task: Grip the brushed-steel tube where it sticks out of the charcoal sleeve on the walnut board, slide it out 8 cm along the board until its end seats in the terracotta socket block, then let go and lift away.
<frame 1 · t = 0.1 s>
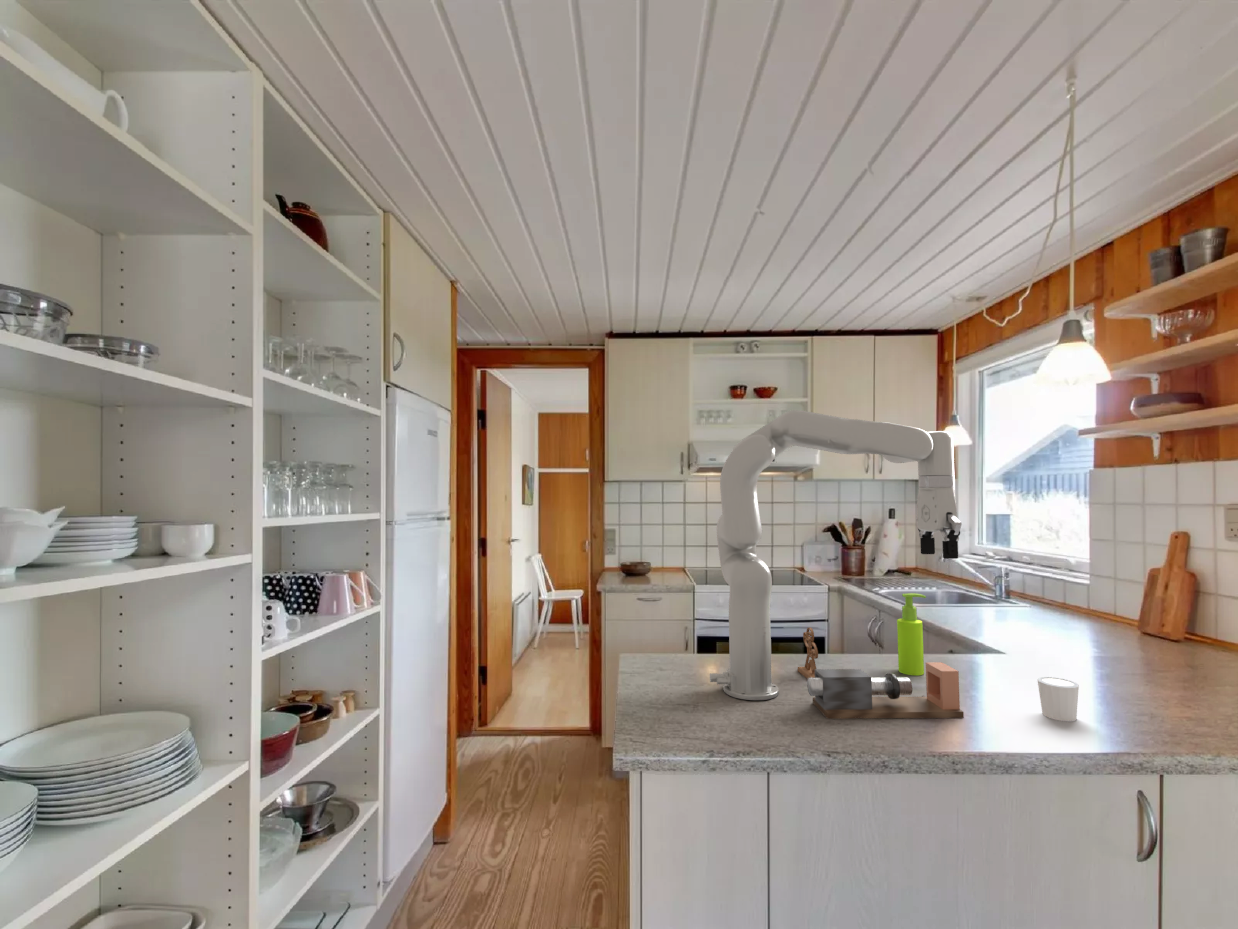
hand: (938, 556, 138), 31 cm above the countertop, fingers open, 9 cm apart
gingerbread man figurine: (811, 676, 149), on the countertop
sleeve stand: (885, 710, 125), on the countertop
socket block: (942, 685, 125), point 5 cm above the countertop
steel tube: (859, 686, 125), point 5 cm above the countertop, slide at 0.0 cm
white cup: (1059, 717, 121), on the countertop
soap dispenser: (913, 673, 151), on the countertop
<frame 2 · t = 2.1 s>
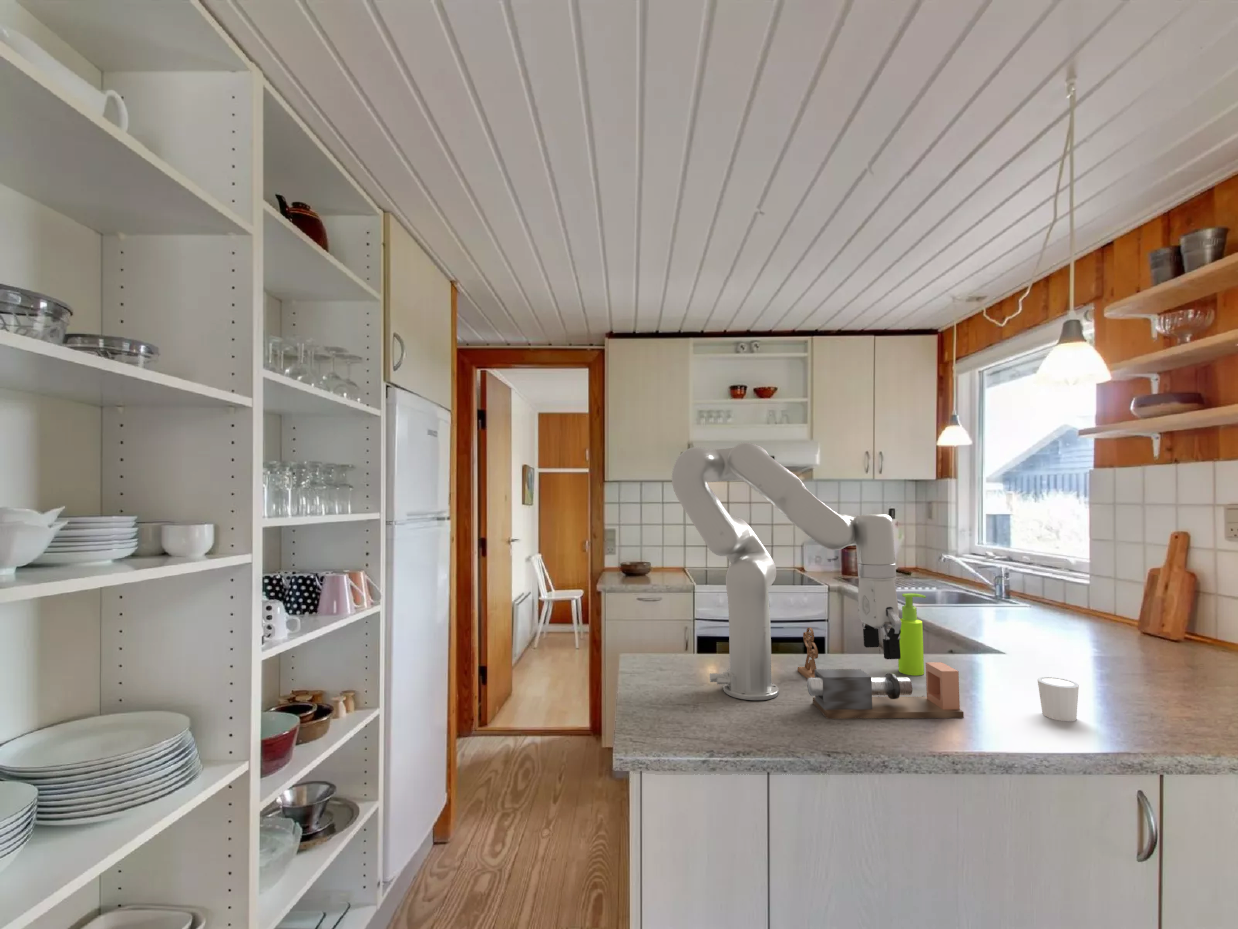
hand: (881, 652, 125), 12 cm above the countertop, fingers open, 9 cm apart
nothing on the countertop moved.
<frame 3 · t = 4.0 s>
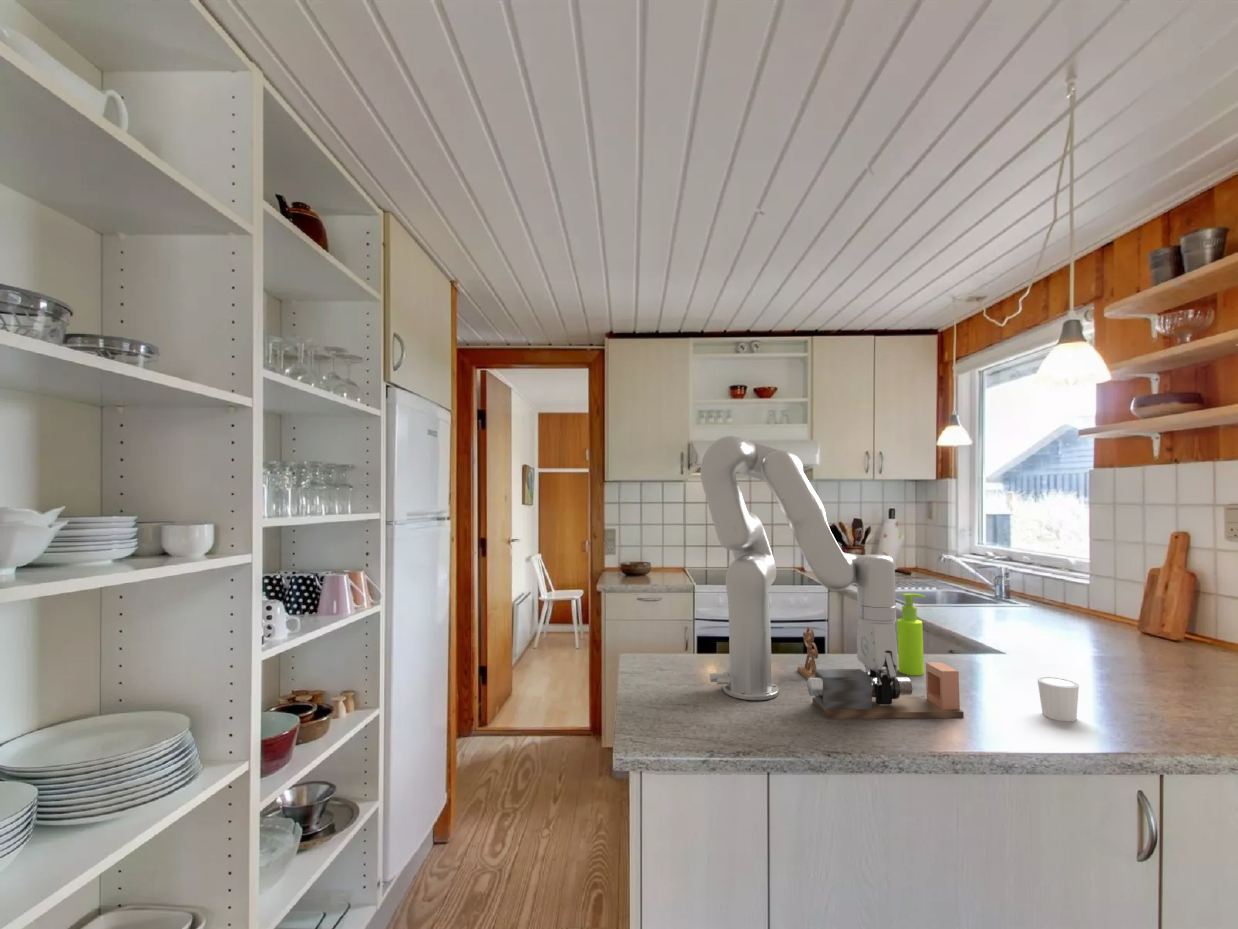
hand: (879, 699, 125), 2 cm above the countertop, fingers closed on steel tube, 3 cm apart
steel tube: (859, 686, 125), point 5 cm above the countertop, slide at 0.0 cm, touching gripper
everything else where it was.
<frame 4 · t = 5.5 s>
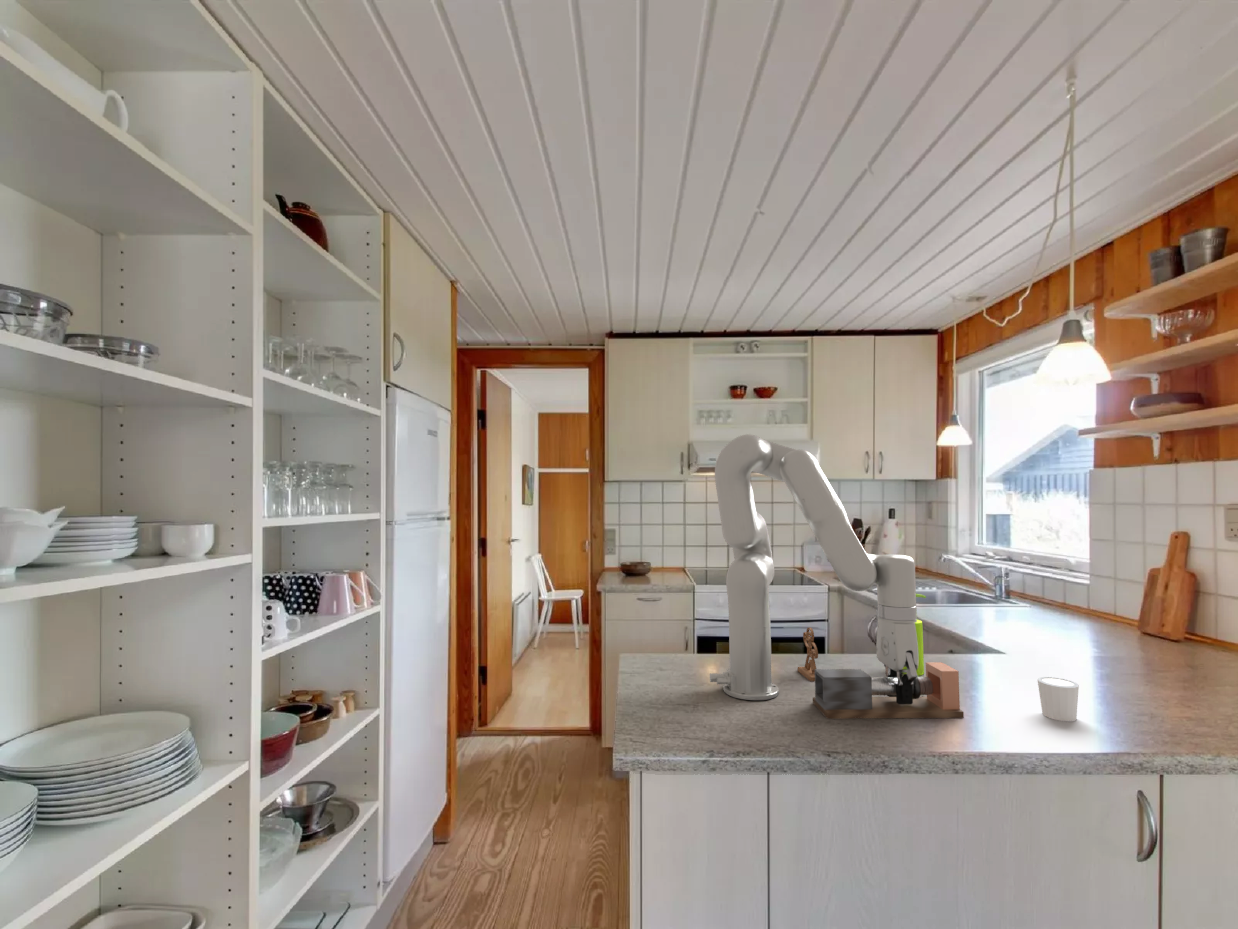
hand: (899, 699, 125), 2 cm above the countertop, fingers closed on steel tube, 3 cm apart
steel tube: (879, 686, 125), point 5 cm above the countertop, slide at 4.3 cm, touching gripper
everything else where it was.
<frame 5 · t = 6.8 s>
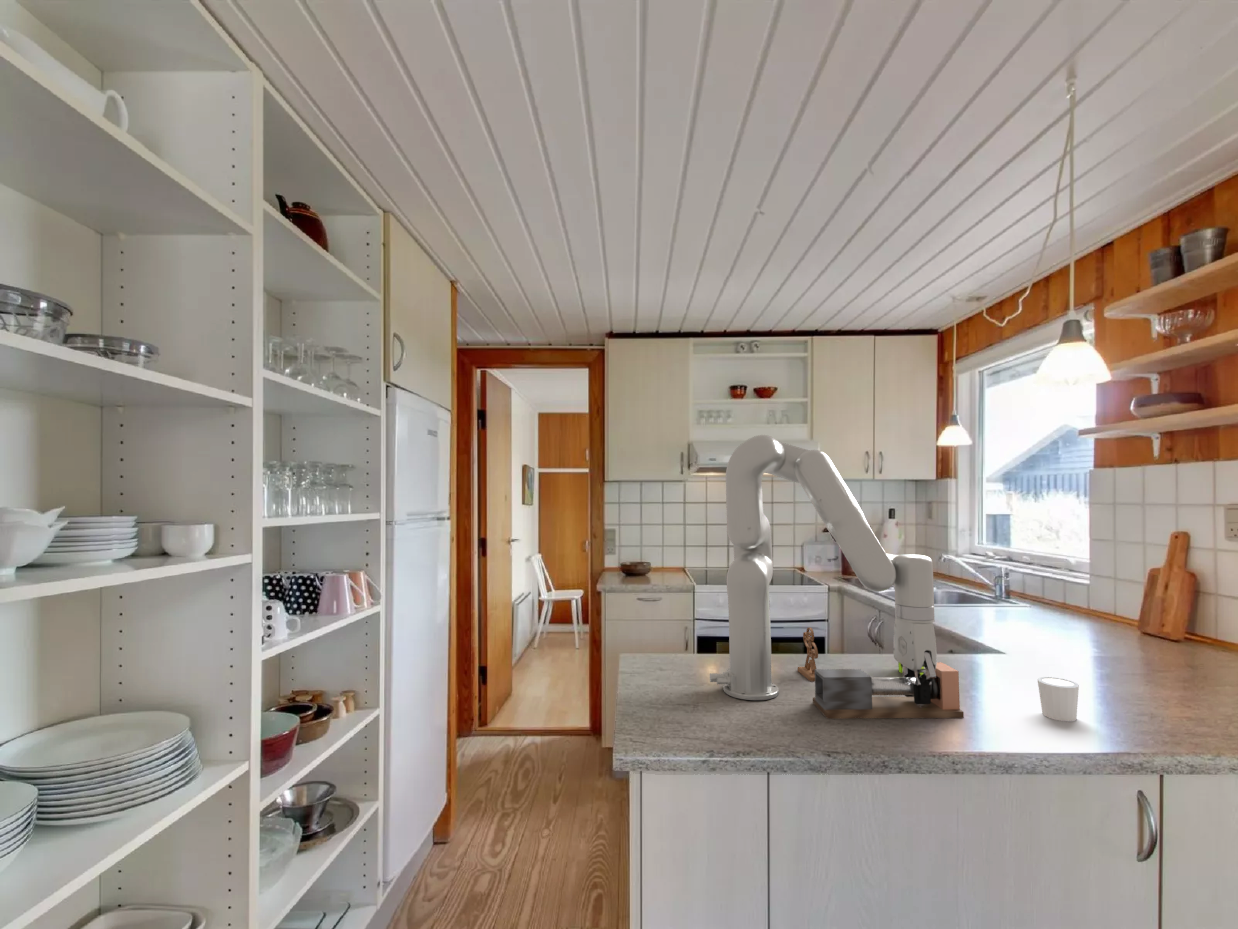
hand: (917, 699, 125), 2 cm above the countertop, fingers closed on steel tube, 3 cm apart
steel tube: (897, 686, 125), point 5 cm above the countertop, slide at 8.1 cm, touching gripper
everything else where it was.
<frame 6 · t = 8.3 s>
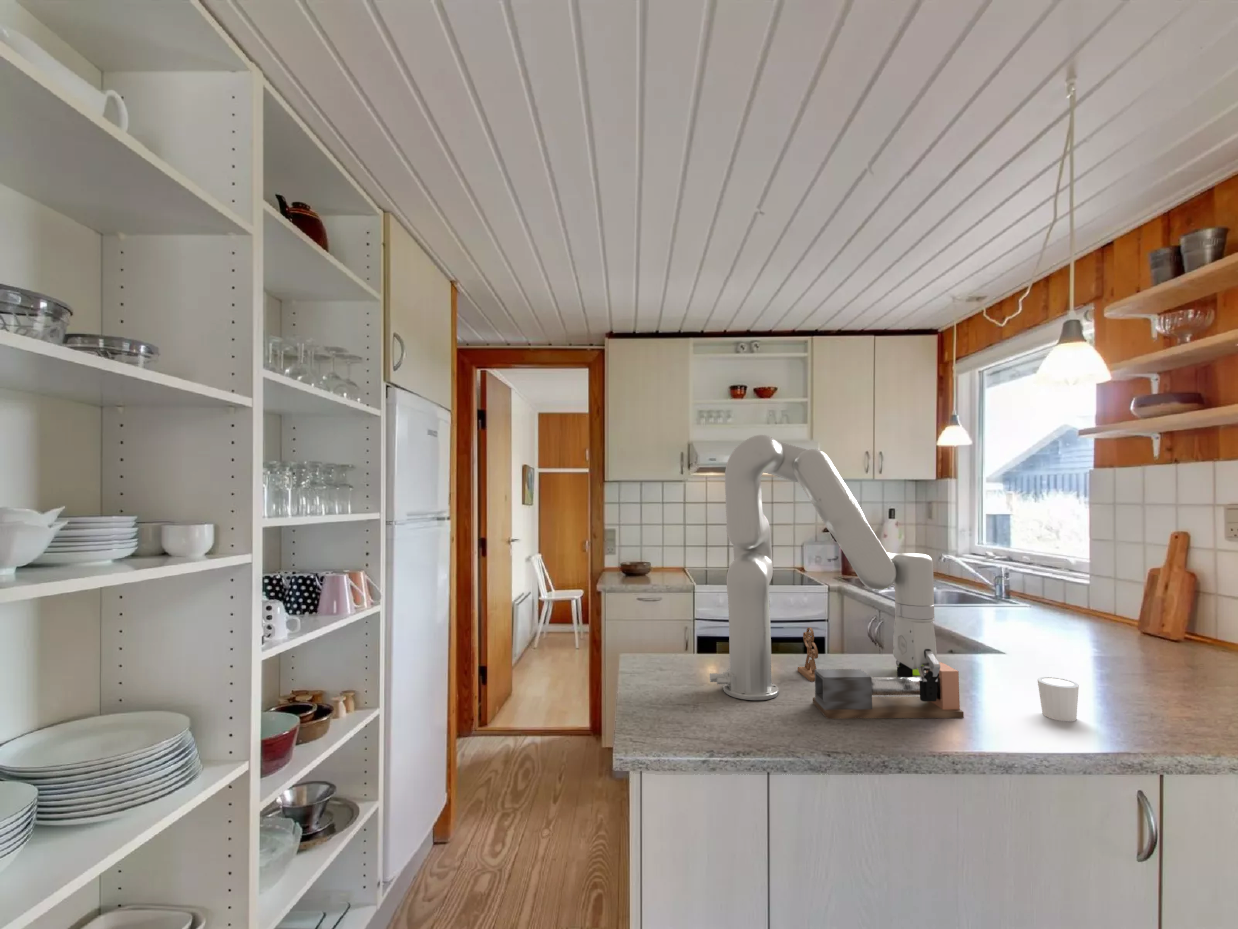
hand: (916, 692, 125), 4 cm above the countertop, fingers open, 9 cm apart
steel tube: (896, 686, 125), point 5 cm above the countertop, slide at 8.0 cm
everything else where it was.
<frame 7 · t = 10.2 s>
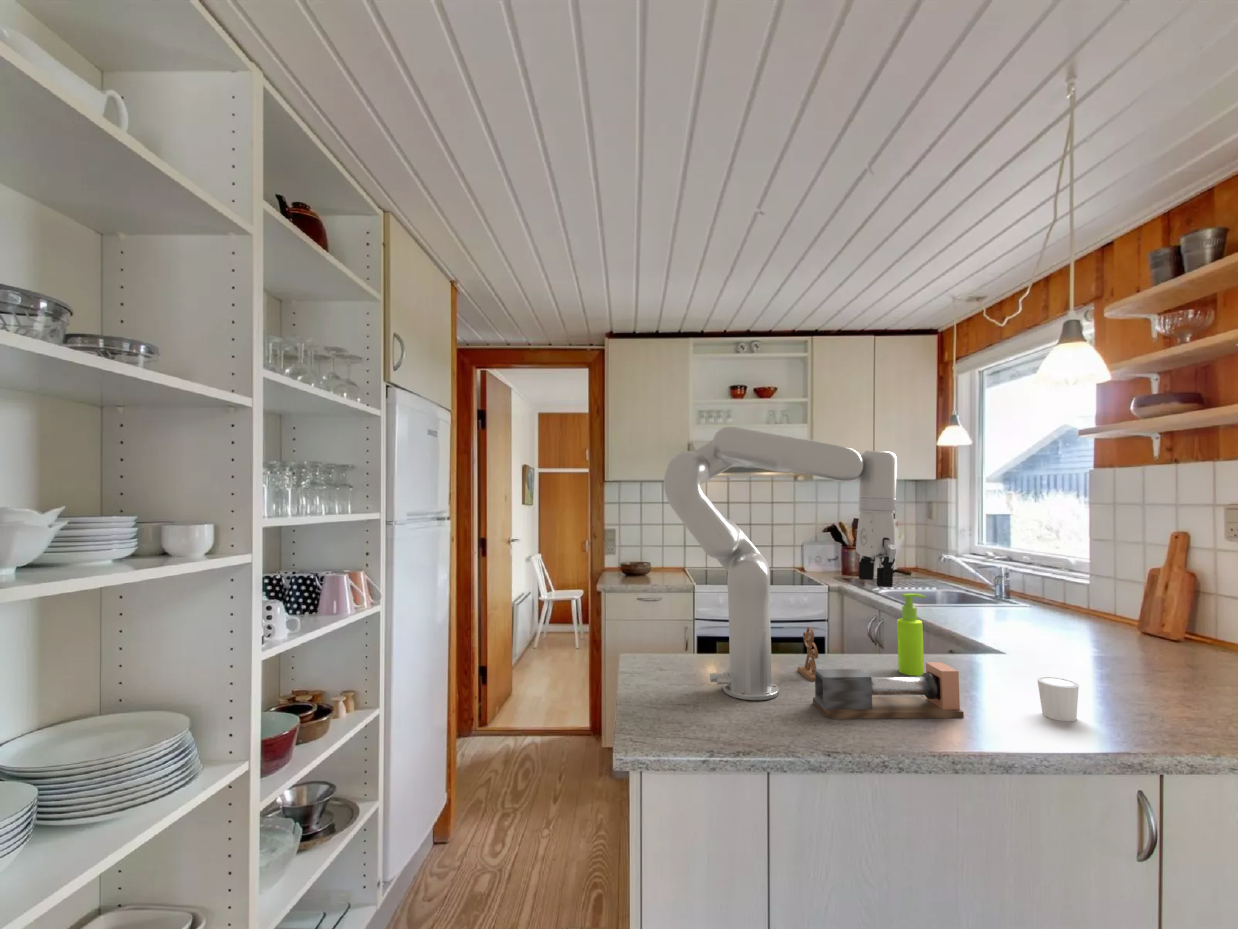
hand: (874, 582, 131), 26 cm above the countertop, fingers open, 9 cm apart
nothing on the countertop moved.
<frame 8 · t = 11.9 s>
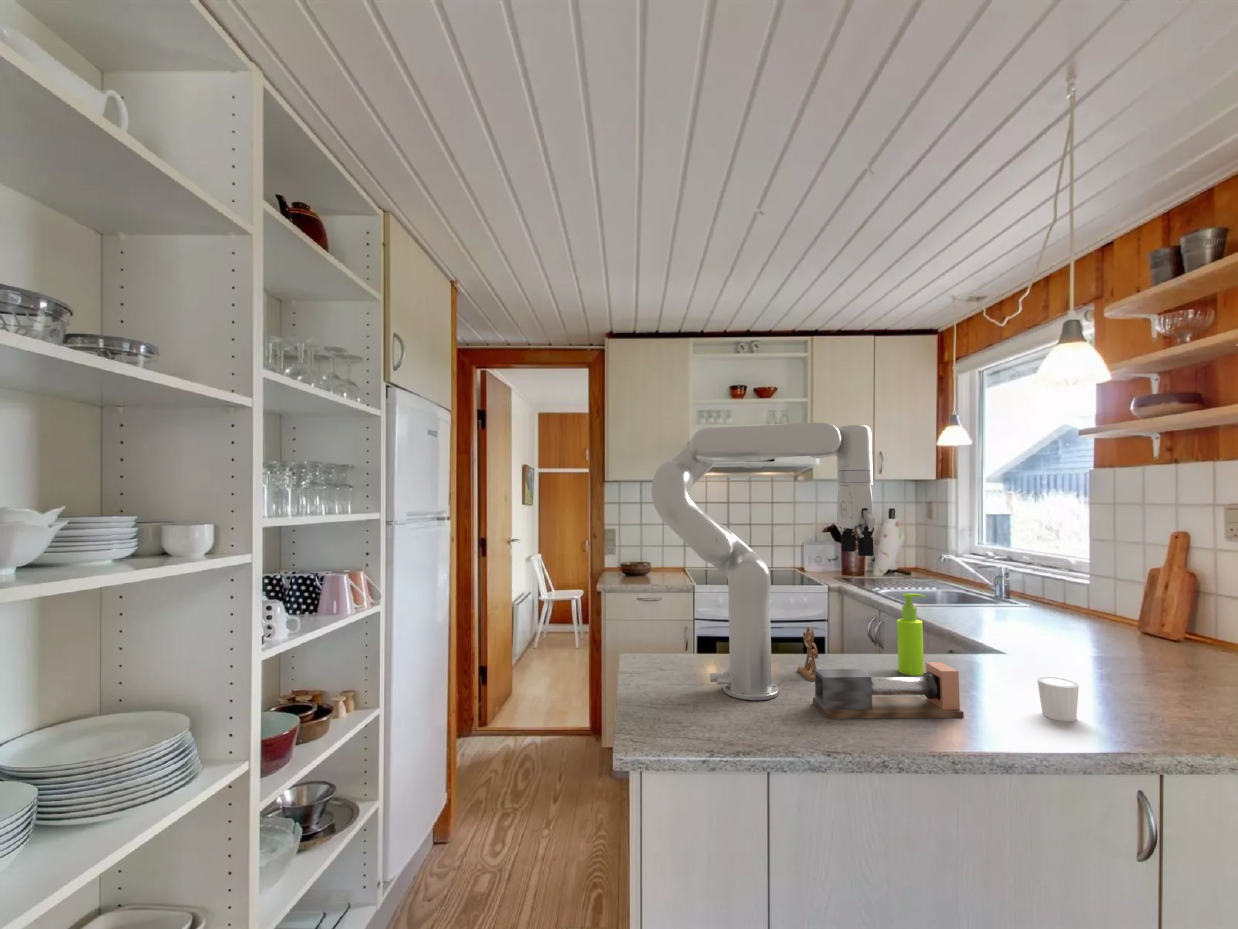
hand: (856, 553, 134), 32 cm above the countertop, fingers open, 9 cm apart
nothing on the countertop moved.
at the end: steel tube slide at 8.0 cm; the gripper is holding nothing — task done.
